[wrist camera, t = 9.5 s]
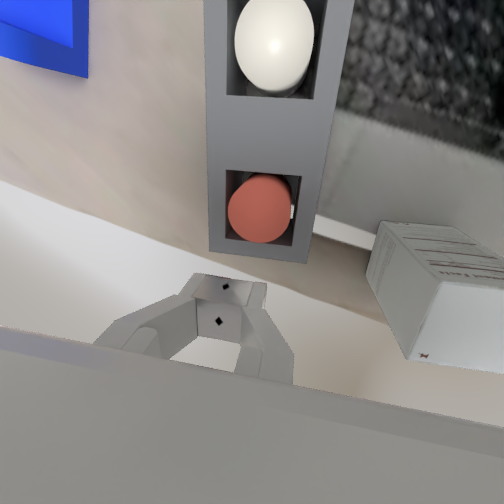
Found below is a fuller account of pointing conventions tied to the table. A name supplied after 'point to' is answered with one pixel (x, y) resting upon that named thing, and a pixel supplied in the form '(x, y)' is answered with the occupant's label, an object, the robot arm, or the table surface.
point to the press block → (268, 127)
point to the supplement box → (440, 295)
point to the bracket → (46, 34)
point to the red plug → (261, 207)
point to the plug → (275, 45)
